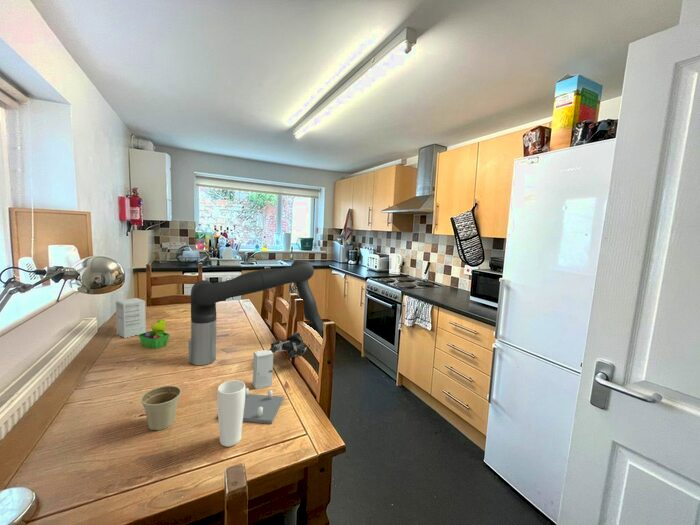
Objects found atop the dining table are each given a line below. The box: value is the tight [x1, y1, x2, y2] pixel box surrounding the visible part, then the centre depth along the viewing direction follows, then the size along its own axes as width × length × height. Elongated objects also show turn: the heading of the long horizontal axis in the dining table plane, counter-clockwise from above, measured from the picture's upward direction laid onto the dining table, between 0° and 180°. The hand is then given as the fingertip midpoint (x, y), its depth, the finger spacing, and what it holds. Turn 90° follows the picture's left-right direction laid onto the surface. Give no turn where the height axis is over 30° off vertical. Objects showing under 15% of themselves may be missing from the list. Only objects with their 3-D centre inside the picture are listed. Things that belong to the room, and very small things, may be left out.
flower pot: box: [140, 385, 182, 431], centre depth 79 cm, size 9×9×9 cm
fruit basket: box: [137, 318, 171, 350], centre depth 130 cm, size 11×9×11 cm
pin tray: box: [243, 387, 284, 425], centre depth 89 cm, size 16×12×4 cm
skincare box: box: [252, 348, 274, 390], centre depth 102 cm, size 6×4×12 cm
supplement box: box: [115, 297, 147, 339], centre depth 140 cm, size 10×9×17 cm
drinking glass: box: [216, 379, 246, 448], centre depth 74 cm, size 7×7×15 cm
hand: (279, 354), depth 112 cm, fingers open, 8 cm apart
